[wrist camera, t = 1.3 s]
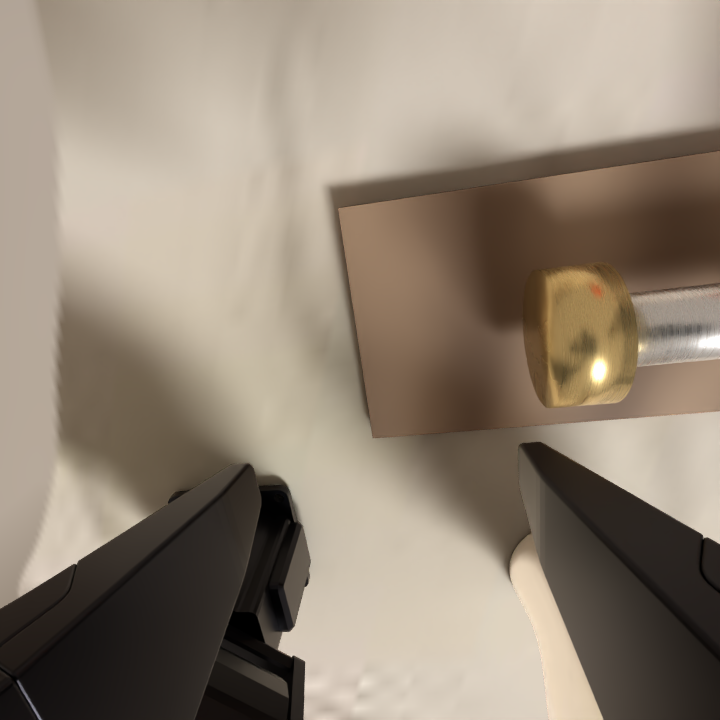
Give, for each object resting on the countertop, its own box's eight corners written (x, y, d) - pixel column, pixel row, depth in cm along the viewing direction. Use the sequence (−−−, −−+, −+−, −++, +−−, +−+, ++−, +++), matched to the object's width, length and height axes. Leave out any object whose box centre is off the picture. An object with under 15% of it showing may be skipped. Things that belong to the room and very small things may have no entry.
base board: (374, 427, 21) (372, 438, 20) (341, 207, 18) (338, 208, 17) (906, 384, 18) (933, 394, 17) (989, 110, 15) (1029, 104, 14)
